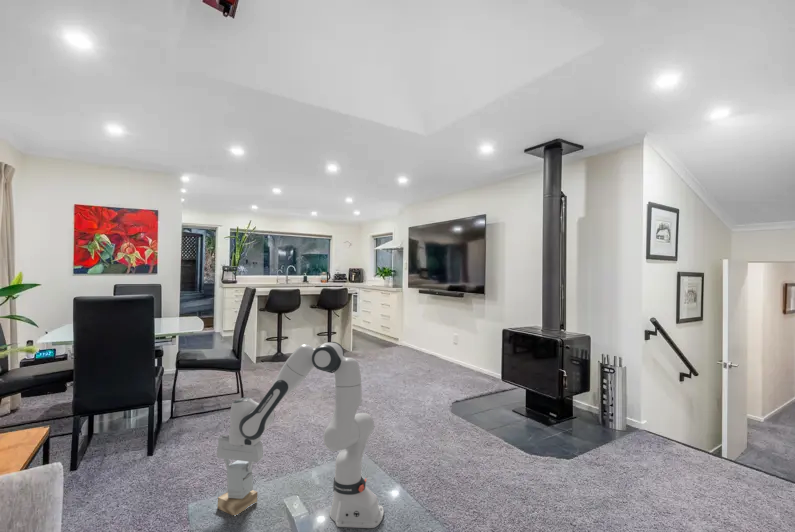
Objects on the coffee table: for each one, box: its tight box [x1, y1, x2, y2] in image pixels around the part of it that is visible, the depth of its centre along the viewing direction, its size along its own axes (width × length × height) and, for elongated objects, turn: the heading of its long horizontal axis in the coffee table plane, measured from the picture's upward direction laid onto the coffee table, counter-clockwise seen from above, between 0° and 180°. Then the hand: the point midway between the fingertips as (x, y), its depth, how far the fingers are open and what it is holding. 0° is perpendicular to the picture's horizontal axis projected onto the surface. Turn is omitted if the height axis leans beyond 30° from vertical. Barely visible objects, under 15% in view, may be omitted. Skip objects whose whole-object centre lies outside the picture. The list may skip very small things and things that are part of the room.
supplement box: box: [226, 460, 254, 499], centre depth 156 cm, size 7×7×13 cm
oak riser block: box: [217, 489, 259, 516], centre depth 156 cm, size 11×11×5 cm
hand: (238, 469), depth 157 cm, fingers open, 8 cm apart
